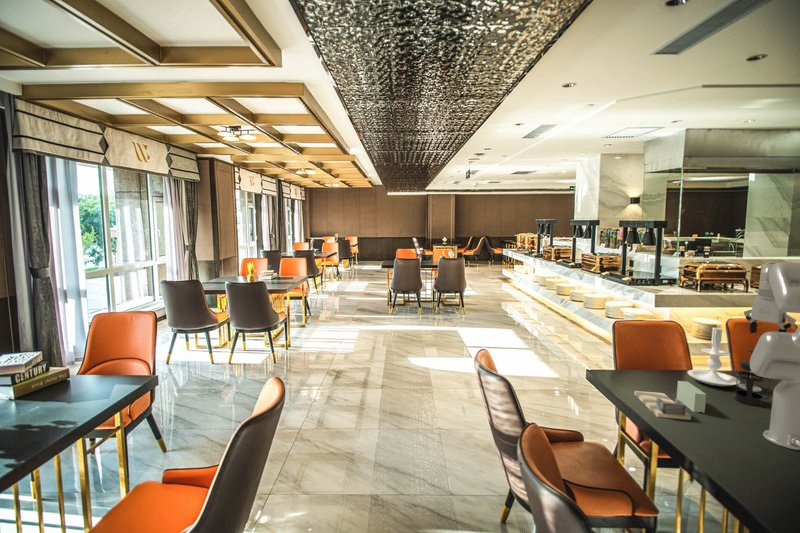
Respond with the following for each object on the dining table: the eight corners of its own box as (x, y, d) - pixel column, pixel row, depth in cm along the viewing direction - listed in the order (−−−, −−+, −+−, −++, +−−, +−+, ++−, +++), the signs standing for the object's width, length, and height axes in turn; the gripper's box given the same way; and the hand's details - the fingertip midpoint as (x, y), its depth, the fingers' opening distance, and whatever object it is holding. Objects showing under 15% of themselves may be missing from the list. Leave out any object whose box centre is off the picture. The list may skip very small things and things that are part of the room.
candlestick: (735, 378, 207) (740, 324, 204) (742, 394, 186) (748, 334, 184) (686, 370, 218) (690, 318, 216) (687, 384, 198) (692, 327, 195)
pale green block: (704, 413, 167) (706, 394, 166) (693, 412, 168) (695, 393, 167) (686, 399, 181) (687, 381, 180) (676, 398, 181) (677, 380, 181)
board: (690, 419, 160) (691, 406, 160) (657, 417, 162) (658, 403, 162) (663, 396, 183) (664, 384, 183) (634, 394, 185) (635, 382, 185)
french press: (732, 401, 178) (737, 350, 176) (732, 395, 186) (736, 345, 184) (768, 409, 171) (773, 355, 169) (766, 402, 178) (772, 350, 176)
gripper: (740, 291, 172) (737, 331, 174) (791, 298, 156) (787, 342, 158) (752, 290, 175) (748, 330, 177) (803, 297, 159) (798, 340, 160)
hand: (766, 335), depth 167 cm, fingers open, 9 cm apart
